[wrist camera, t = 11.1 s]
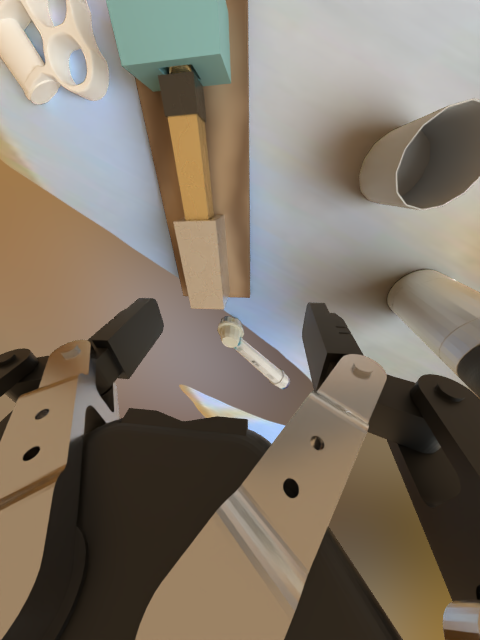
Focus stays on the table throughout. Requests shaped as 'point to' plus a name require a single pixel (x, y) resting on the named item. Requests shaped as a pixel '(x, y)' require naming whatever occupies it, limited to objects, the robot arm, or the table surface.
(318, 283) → the table surface
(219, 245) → the sleeve
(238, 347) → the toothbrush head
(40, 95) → the knuckle duster
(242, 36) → the base board
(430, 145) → the cup
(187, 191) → the plug
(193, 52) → the teal rectangular block
